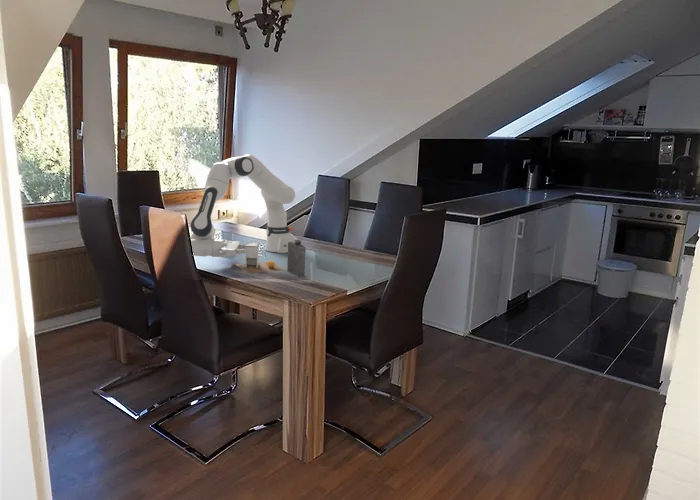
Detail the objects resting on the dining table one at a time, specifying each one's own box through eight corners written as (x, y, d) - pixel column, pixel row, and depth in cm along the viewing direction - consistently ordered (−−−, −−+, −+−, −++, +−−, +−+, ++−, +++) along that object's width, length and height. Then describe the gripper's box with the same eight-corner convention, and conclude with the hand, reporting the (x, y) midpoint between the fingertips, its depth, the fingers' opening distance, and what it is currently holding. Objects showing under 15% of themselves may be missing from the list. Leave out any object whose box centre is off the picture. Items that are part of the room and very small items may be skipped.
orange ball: (273, 266, 277) (273, 259, 276) (275, 268, 274) (275, 261, 273) (266, 267, 275) (266, 260, 274) (268, 268, 272) (269, 261, 271)
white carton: (246, 264, 278) (246, 243, 276) (258, 264, 279) (258, 243, 277) (245, 267, 273) (245, 245, 270) (257, 267, 273) (257, 246, 271)
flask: (292, 272, 273) (293, 237, 269) (306, 279, 262) (308, 242, 258) (286, 272, 271) (287, 237, 267) (300, 280, 260) (301, 243, 256)
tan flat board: (272, 263, 287) (272, 261, 287) (284, 272, 272) (284, 269, 272) (235, 266, 278) (235, 264, 278) (245, 275, 262) (245, 273, 262)
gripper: (216, 246, 262) (245, 247, 263) (223, 238, 282) (249, 239, 283) (216, 259, 263) (245, 260, 264) (222, 250, 283) (249, 251, 284)
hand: (247, 249), depth 274 cm, fingers open, 8 cm apart
